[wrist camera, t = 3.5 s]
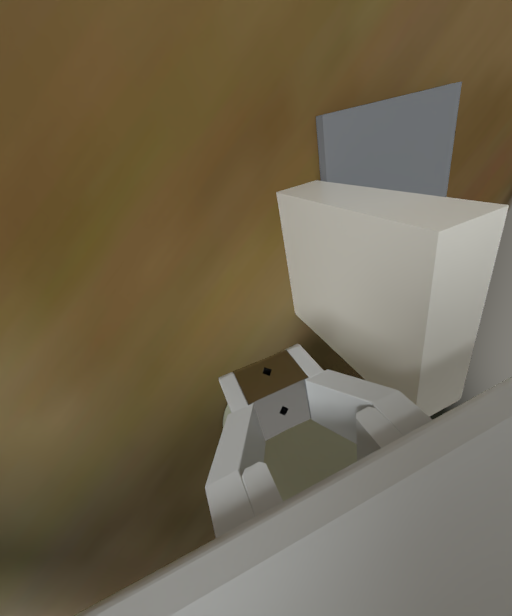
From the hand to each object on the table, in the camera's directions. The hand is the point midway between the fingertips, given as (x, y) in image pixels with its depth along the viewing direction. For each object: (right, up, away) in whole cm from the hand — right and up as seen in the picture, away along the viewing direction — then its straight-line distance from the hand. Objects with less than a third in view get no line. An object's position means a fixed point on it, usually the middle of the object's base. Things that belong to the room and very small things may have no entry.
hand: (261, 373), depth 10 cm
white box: (+3, +6, +8) cm, 10 cm away
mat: (+8, +8, +9) cm, 15 cm away
